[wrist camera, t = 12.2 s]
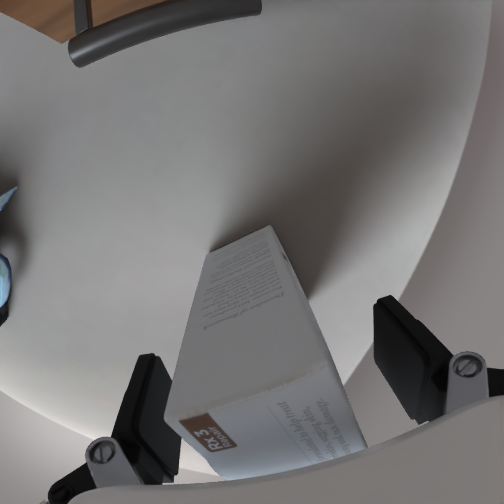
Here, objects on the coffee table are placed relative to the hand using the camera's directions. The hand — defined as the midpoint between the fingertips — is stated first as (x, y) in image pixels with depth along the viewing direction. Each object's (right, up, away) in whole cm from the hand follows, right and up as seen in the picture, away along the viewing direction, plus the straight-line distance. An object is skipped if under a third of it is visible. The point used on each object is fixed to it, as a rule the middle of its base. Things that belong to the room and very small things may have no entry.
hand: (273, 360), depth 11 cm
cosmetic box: (-1, +2, +7) cm, 8 cm away
